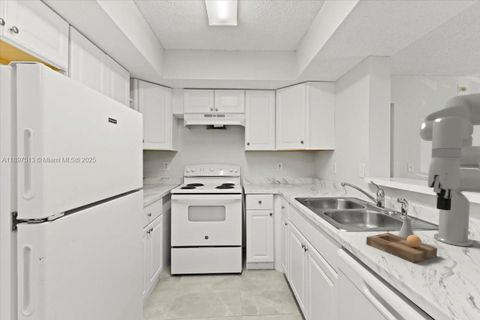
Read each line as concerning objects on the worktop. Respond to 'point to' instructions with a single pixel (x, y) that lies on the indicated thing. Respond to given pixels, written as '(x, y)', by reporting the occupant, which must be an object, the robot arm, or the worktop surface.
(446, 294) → the worktop surface
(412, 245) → the ball
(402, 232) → the flask
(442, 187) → the robot arm
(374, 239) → the board
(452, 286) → the worktop surface
